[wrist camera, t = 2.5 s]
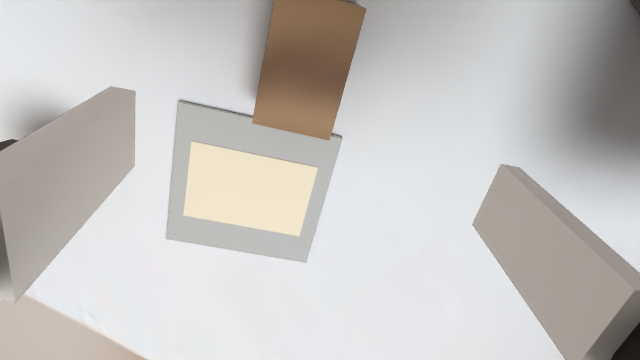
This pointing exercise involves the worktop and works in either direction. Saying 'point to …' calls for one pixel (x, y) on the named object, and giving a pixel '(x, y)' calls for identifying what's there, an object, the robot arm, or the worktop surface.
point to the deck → (307, 65)
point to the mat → (246, 184)
